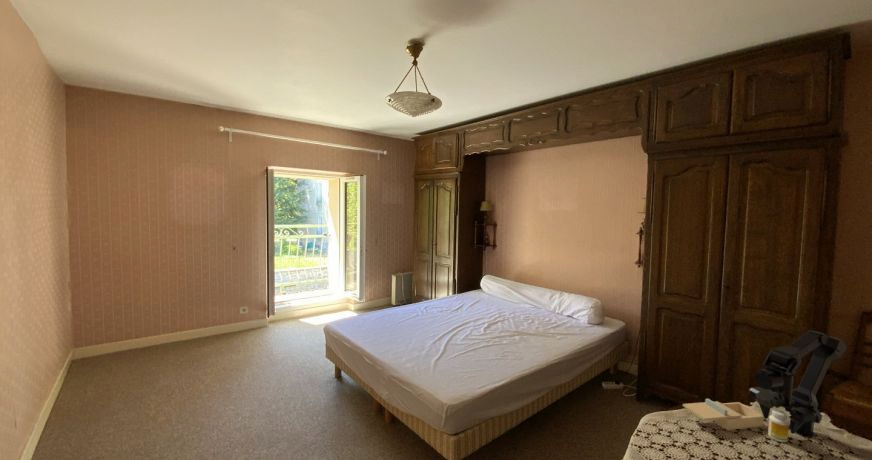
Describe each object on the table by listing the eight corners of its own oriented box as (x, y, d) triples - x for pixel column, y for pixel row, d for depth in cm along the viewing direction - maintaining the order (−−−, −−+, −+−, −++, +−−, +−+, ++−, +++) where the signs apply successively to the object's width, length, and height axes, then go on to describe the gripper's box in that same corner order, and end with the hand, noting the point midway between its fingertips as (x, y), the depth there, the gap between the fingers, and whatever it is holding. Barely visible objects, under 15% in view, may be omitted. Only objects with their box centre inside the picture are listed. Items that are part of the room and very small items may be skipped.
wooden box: (738, 412, 149) (739, 402, 149) (763, 427, 139) (764, 416, 139) (704, 415, 147) (704, 404, 146) (726, 430, 137) (727, 419, 137)
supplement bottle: (791, 443, 130) (793, 417, 129) (774, 441, 131) (776, 415, 130) (780, 434, 135) (782, 409, 134) (764, 432, 136) (766, 407, 135)
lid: (717, 403, 147) (718, 396, 147) (741, 417, 137) (741, 410, 137) (682, 405, 145) (683, 399, 145) (704, 420, 135) (704, 413, 135)
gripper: (737, 374, 140) (735, 412, 141) (791, 400, 121) (787, 443, 122) (762, 372, 141) (760, 410, 142) (819, 397, 123) (815, 441, 124)
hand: (778, 425), depth 133 cm, fingers open, 9 cm apart
